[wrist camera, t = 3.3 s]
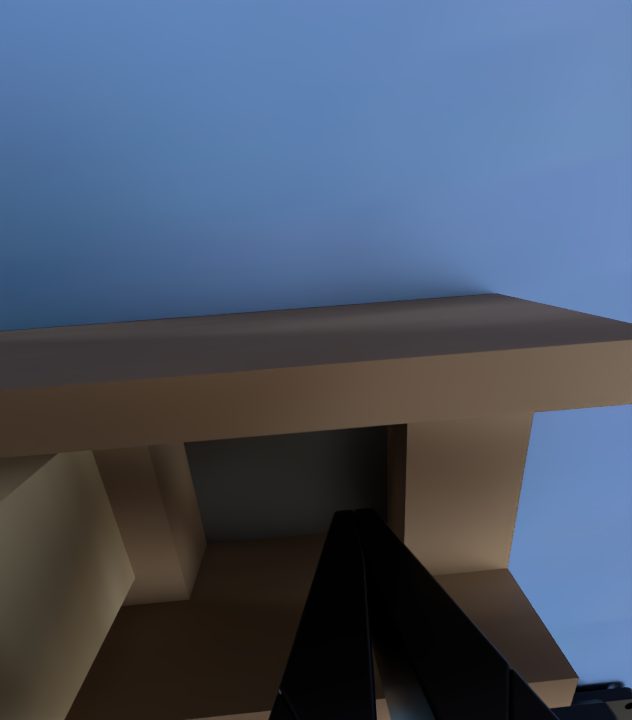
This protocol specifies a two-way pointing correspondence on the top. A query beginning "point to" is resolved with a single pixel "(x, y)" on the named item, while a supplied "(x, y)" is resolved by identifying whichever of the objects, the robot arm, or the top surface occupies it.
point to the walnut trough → (301, 472)
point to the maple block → (55, 580)
